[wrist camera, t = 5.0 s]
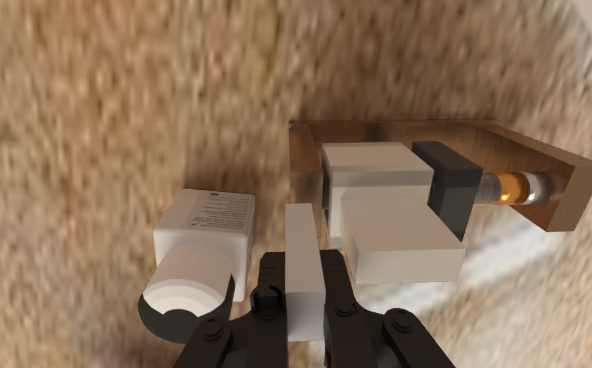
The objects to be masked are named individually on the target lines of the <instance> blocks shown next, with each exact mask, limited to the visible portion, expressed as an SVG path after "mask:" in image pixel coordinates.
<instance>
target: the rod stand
mask: <svg viewBox="0 0 592 368" xmlns="http://www.w3.org/2000/svg"><path fill="white" fill-rule="evenodd" d="M499 121H500V120H497V119H435V120H376V121H316V122H289V155H290V193H291V204H302V203H311V204H312V210H313V216H314V222H315V228H316V234H317V238H321V218H322V209H329V196H330V178H329V176H323V170H322V143H362V142H401V143H402V144H403V145H404V146H406V147H407V148H408V149H409V150H410V151H411V149H412V143H413V142H415V141H439V142H441V143H442V144H444V145H446V146H447V147H449V148H450V149H452V150H454V151H455V152H457V153H459V154H460V155H462V156H463V157H465V158H467V159H468V160H470V161H472V162H473V163H475V164H476V165H478V166H480V167H481V168H483V169H484V171H483V174H482V177H481V181H480V184H479V187H478V190H477V194H476V197H475V200H474V204H473V206H482V205H509V206H510V207H512V208H513V209H515V210H516V211H517V212H519V213H520V214H522V215H523V216H524V217H526V218H527V219H529V220H530V221H531V222H533V223H534V224H536V225H537V226H539V227H540V228H541V229H543V230H544V231H546V232H562V231H574V230H575V228H576V226H577V224H578V222H579V220H580V218H581V216H582V214H583V212H584V210H585V208H586V206H587V204H588V202H589V200H590V198H591V196H592V160H590V159H587V158H584V157H582V156H579V155H576V154H573V153H571V152H568V151H565V150H563V149H560V148H557V147H555V146H552V145H549V144H546V143H544V142H541V141H538V140H536V139H533V138H530V137H527V136H525V135H522V134H519V133H517V132H514V131H511V130H509V129H506V128H503V127H500V126H498V124H499ZM436 182H437V179H436V178H435V177H433V178H432V183H431V187H430V192H429V196H428V201H427V205H428V206H429V207H431V204H432V199H433V195H434V190H435V186H436Z"/></svg>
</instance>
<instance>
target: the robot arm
mask: <svg viewBox="0 0 592 368" xmlns="http://www.w3.org/2000/svg"><path fill="white" fill-rule="evenodd" d="M250 302H251V310H250V312H249V313H247V314H246V315H244V316H242V317H240V318H237V319H234V320H231V321H229V320H228V319H227V318H225V317H223V316H212V317H209V318H206V319H205V320H203V321H202V322H200V324H199V325H198V326H197V327H196V329H195V330H194V332H193V334H192V335H191V337H190V339H189V340H188V342H187V344H186V346H185V347H184V349H183V351H182V352H181V354H180V356H179V358H178V359H177V361H176V363H175V364H174V366H173V368H289V363H288V342H289V341H314V340H325V361H324V366H326V367H327V368H456V367H455V366H454V365H453V363H452V362H451V361H450V360H449V358H448V357H447V356H446V354H445V353H444V352H443V350H442V349H441V348H440V347H439V345H438V344H437V343H436V341H435V340H434V339H433V338H432V336H431V335H430V334H429V332H428V331H427V330H426V328H425V327H424V326H423V325H422V323H421V322H420V321H419V319H418V318H417V317H416V316H415V315H414V314H413V313H411V312H409V311H407V310H405V309H400V308H392V309H390V310H388V311H387V312H386V313H385V314H384V315H383V314H379V313H375V312H372V311H369V310H366V309H365V308H363V307H362V306H361V305H359V303H358V302H357V301H356V299H355V297H354V294H353V290H352V286H351V283H350V279H349V276H348V272H347V268H346V266H345V261H344V257H343V255H342V254H341V253H340V252H339V251H338V250H337V249H334V250H319V247H318V241H317V234H316V228H315V222H314V216H313V210H312V204H311V203H302V204H285V252H266V253H265V254H264V255H263V257H262V258H261V260H260V269H259V277H258V285H257V287H256V288H255V289H254V290H253V291H252V293H251V295H250Z"/></svg>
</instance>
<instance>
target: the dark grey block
mask: <svg viewBox="0 0 592 368" xmlns="http://www.w3.org/2000/svg"><path fill="white" fill-rule="evenodd" d="M411 151H412V152H413V153H414V154H415V155H417V156H418V157H419V158H420V159H421V160H423V161H424V162H425V163H426V164H427V165H429V166H430V167H431V168H432V169H433V170H434V173H433V177H435V178H436V179H437V182H436V186H435V190H434V195H433V199H432V204H431V207H430V208H431V209H432V211H433V212H434V213H435V214H436V215H437V216H438V217H439V218H440V220H441V221H442V222H443V223H444V224H445V225H446V226H447V227H448V228H449V230H450V231H451V232H452V233H453V234H454V235H455V236H456V237H457V238H458V240H459V241H460V242H461V243H462V240H463V237H464V233H465V230H466V227H467V224H468V220H469V217H470V214H471V210H472V207H473V204H474V200H475V197H476V194H477V190H478V187H479V184H480V181H481V177H482V174H483V171H484V169H483V168H481V167H480V166H478V165H476V164H475V163H473V162H472V161H470V160H468V159H467V158H465V157H463V156H462V155H460V154H459V153H457V152H455V151H454V150H452V149H450V148H449V147H447V146H446V145H444V144H442V143H441V142H439V141H415V142H413V143H412V149H411Z"/></svg>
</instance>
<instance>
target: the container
mask: <svg viewBox="0 0 592 368" xmlns="http://www.w3.org/2000/svg"><path fill="white" fill-rule="evenodd" d="M254 214H255V196H254V195H251V194H240V193H229V192H218V191H207V190H196V189H183V190H181V192H180V193H179V195H178V196H177V197H176V199H175V200H174V201H173V203H172V204H171V206H170V207H169V208H168V210H167V211H166V212H165V214H164V215H163V217H162V218H161V219H160V221H159V222H158V224H157V225H156V226H155V228H154V229H153V238H154V246H155V255H156V264H157V269H156V271H155V272H154V274H153V276H152V277H151V279H150V281H149V283H148V284H147V286H146V288H145V289H144V291H143V293H142V295H141V296H140V299H139V302H138V311H139V315H140V317H141V320H142V322H143V323H144V325H145V326H146V327H147V328H148V329H149V330H150V331H151V332H152V333H153V334H155V335H157V336H158V337H160V338H162V339H165V340H167V341H171V342H175V343H181V344H187V342H188V340H189V339H190V337H191V335H192V334H193V332H194V330H195V329H196V327H197V326H198V325H199V324H200V322H202V321H203V320H205V319H206V318H209V317H212V316H223V317H225V318H227V319H228V320H229V316H230V312H231V307H232V302H233V301H236V302H241V301H243V299H244V296H245V290H246V284H247V278H248V272H249V266H250V260H251V254H252V243H253V228H254Z"/></svg>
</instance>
